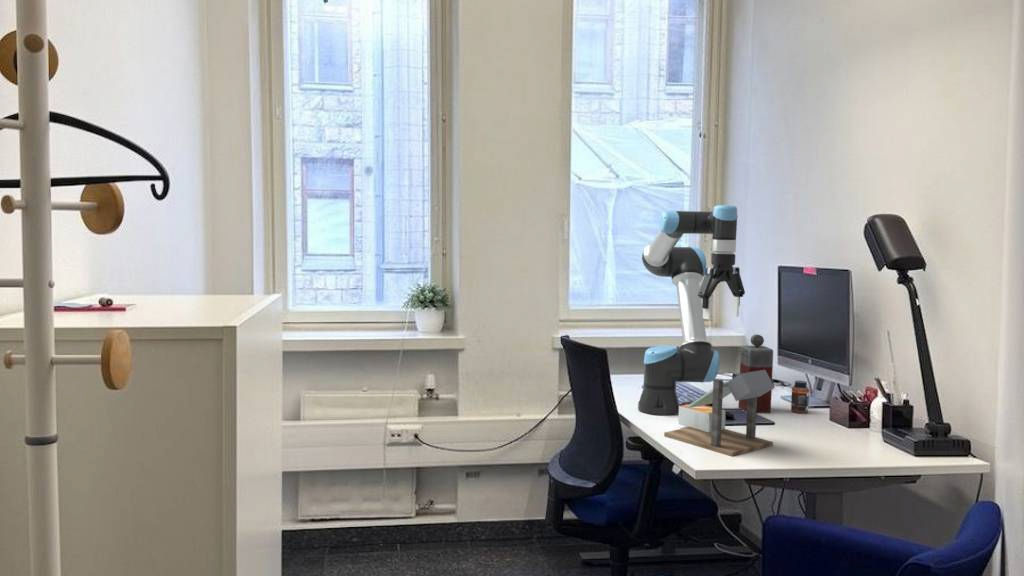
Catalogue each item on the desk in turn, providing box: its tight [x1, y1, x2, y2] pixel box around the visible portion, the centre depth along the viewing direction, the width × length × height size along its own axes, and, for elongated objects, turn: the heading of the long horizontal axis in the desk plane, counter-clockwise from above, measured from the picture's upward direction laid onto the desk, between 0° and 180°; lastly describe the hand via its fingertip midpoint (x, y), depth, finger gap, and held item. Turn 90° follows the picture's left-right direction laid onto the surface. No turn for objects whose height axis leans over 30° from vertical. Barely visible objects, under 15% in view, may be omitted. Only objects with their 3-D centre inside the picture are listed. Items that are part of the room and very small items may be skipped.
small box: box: [678, 403, 726, 432], centre depth 251 cm, size 8×6×13 cm
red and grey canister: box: [738, 333, 774, 414], centre depth 281 cm, size 9×11×28 cm
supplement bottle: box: [790, 380, 810, 414], centre depth 279 cm, size 6×6×11 cm
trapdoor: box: [687, 370, 776, 408], centre depth 234 cm, size 14×23×7 cm
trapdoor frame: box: [663, 378, 774, 457], centre depth 238 cm, size 20×26×21 cm
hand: (720, 317), depth 251 cm, fingers open, 13 cm apart
